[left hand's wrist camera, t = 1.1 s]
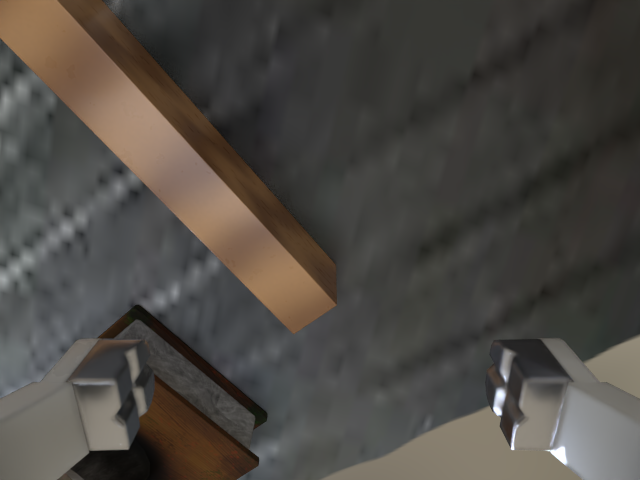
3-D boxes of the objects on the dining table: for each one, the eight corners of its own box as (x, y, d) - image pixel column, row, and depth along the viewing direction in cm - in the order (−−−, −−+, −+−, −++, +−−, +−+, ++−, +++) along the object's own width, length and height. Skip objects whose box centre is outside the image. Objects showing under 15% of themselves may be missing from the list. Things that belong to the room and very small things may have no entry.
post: (336, 265, 46) (337, 305, 39) (299, 291, 47) (293, 334, 40) (-143, -278, 30) (-284, -372, 23) (-179, -215, 31) (-322, -287, 25)
